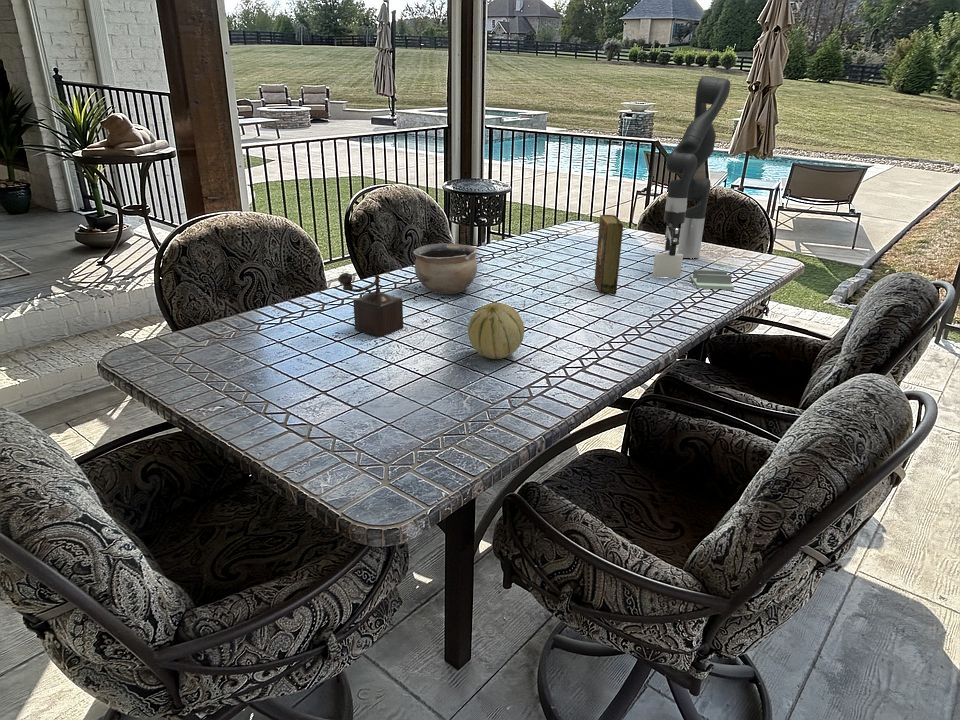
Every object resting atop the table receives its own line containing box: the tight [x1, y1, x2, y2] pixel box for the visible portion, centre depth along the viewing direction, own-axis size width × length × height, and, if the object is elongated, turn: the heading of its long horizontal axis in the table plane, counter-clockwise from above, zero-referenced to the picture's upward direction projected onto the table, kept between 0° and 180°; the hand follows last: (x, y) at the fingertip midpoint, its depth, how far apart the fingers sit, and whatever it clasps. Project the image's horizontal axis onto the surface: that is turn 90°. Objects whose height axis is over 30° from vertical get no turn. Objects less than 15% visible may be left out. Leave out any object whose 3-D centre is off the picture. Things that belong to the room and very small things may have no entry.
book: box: [593, 214, 624, 295], centre depth 225 cm, size 16×6×25 cm, turn 179°
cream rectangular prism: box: [651, 252, 683, 279], centre depth 244 cm, size 3×10×9 cm, turn 84°
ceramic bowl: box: [413, 242, 478, 295], centre depth 221 cm, size 22×22×15 cm
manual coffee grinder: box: [337, 272, 404, 338], centre depth 182 cm, size 16×11×18 cm
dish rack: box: [688, 269, 735, 291], centre depth 236 cm, size 14×13×4 cm
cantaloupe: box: [467, 301, 525, 360], centre depth 167 cm, size 15×15×15 cm
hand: (669, 253), depth 242 cm, fingers open, 8 cm apart
